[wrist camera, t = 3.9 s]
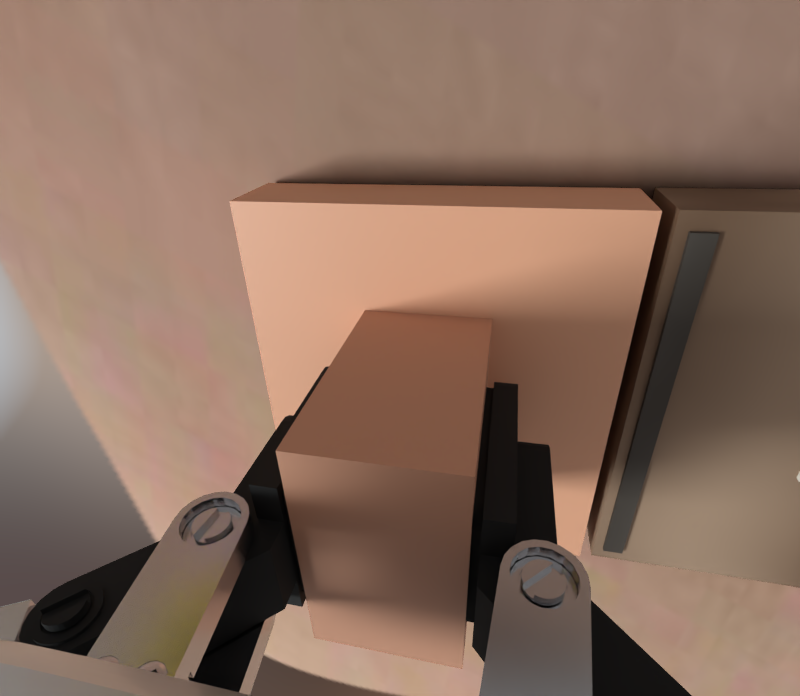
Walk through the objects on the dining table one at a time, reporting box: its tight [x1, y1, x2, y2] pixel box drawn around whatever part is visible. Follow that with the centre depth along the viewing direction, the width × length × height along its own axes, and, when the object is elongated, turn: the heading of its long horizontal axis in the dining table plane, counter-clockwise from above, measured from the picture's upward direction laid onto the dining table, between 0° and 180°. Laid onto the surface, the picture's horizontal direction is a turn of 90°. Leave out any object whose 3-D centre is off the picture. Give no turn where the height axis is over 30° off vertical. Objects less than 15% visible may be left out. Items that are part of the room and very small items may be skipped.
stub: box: [230, 183, 662, 669], centre depth 11 cm, size 9×10×7 cm
